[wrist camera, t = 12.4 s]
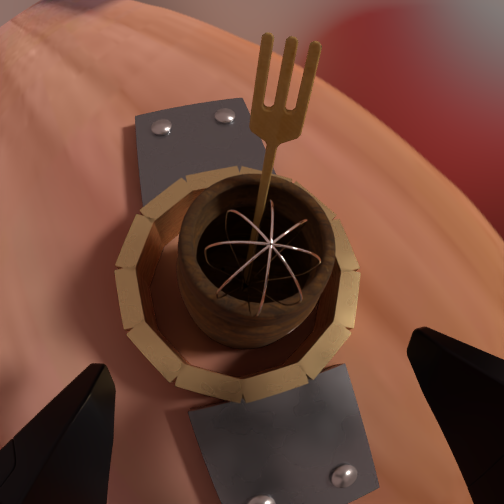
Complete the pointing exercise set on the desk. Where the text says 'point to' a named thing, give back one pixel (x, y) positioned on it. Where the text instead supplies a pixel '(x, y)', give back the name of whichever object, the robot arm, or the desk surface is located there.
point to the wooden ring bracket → (263, 382)
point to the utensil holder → (258, 231)
